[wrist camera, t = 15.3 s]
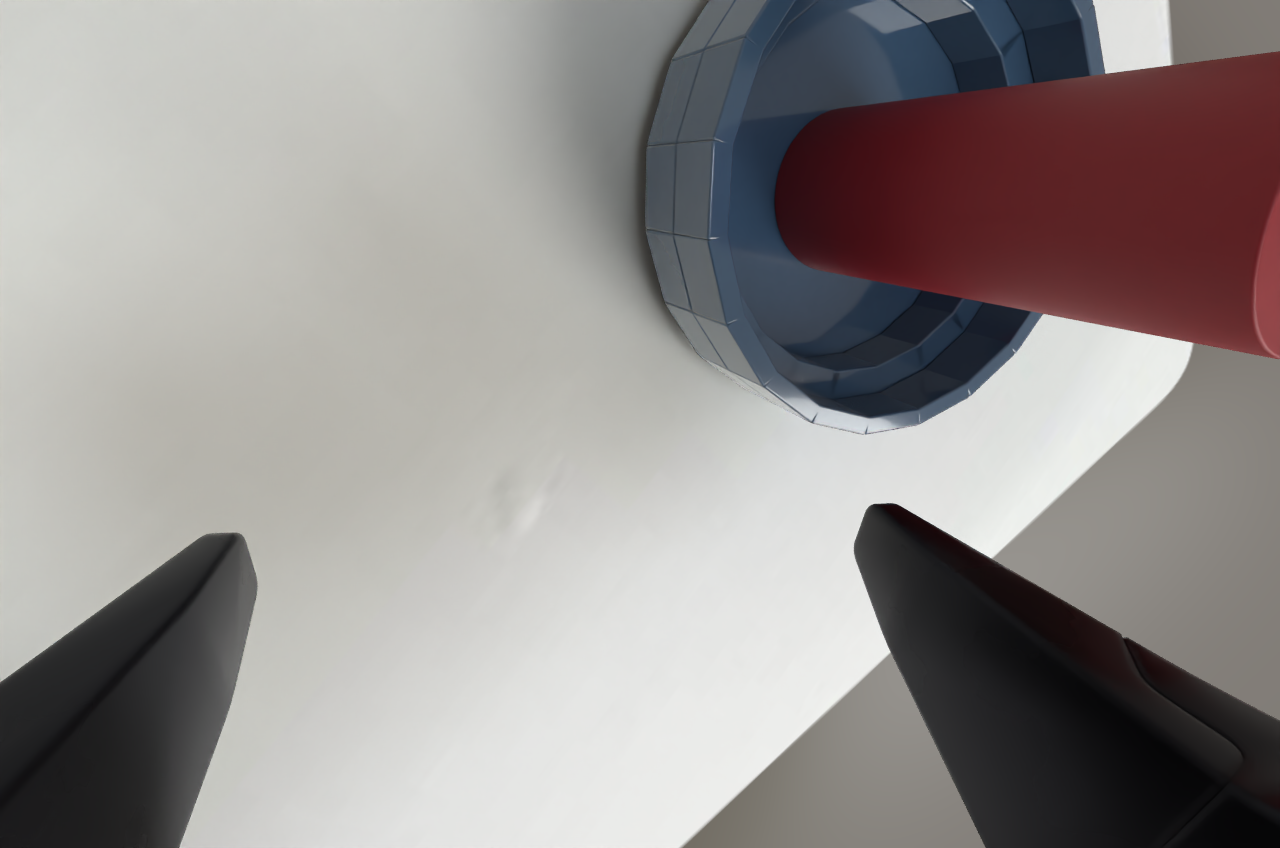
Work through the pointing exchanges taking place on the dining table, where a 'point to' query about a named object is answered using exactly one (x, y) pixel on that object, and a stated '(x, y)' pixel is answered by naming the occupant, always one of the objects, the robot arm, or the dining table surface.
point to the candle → (1061, 198)
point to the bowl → (746, 181)
